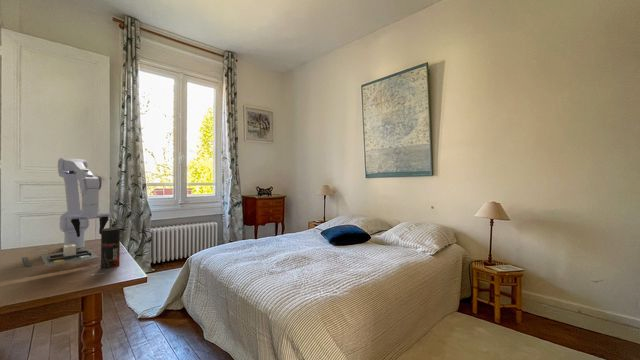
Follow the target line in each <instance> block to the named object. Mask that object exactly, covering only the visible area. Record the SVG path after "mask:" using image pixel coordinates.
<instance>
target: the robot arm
mask: <svg viewBox="0 0 640 360" xmlns="http://www.w3.org/2000/svg"><path fill="white" fill-rule="evenodd" d="M57 172H58V176H59V177H60V178H63V181H64V188H65V189H64V190H65V199H66V209H67V211H65V212H64V213H63V214H61V216H60V217H59V230H60V231H61V232H63V233H64V235H63V237H64V242H63V243H64V244H63V246H65V245H70V244H71V245H73V244H75V245H76V250H78V249H81V248H82V249H83V248H84V247H85V236H86V235H85V232H86V231H87V229H89V227H90V220H91V219H99V220H98V221H99V229H98V231H99V232H98V233H99V235H101V230H102V229H105V227H106V224H107V223H108V221H109V218H111V217H112V213H111V212H100V210H99V209H100V207H99V206H100V202H99V201H100V199H99V198H100V190H101V188H102V179H101V177H100V176H95V175H94V173H93V172H92V171H91V170H90V169H89V168H88V161H87V160H86V159H85V158H68V157H67V158H64V157H60V158H59V159H58V161H57ZM78 182H79V183H78ZM79 188H80V192H79ZM80 195H81V201H80ZM80 202H81V203H80Z"/></svg>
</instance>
